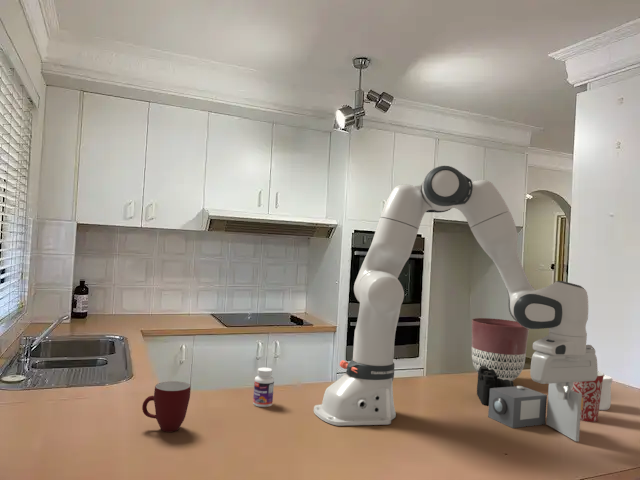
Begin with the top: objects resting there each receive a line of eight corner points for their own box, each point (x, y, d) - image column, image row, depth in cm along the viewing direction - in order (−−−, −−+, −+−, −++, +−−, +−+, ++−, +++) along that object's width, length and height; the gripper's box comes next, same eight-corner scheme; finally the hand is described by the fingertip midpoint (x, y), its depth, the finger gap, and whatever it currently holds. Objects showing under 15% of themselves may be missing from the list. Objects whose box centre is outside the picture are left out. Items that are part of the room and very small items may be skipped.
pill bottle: (249, 405, 140) (251, 369, 140) (258, 400, 145) (261, 365, 145) (266, 408, 138) (269, 372, 138) (275, 403, 143) (278, 368, 143)
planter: (471, 385, 176) (475, 323, 176) (465, 372, 195) (468, 316, 195) (531, 392, 173) (535, 328, 173) (518, 378, 192) (522, 321, 192)
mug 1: (138, 436, 114) (141, 391, 114) (142, 423, 121) (145, 381, 121) (187, 434, 116) (190, 390, 116) (187, 422, 124) (190, 381, 124)
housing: (509, 428, 134) (511, 395, 135) (485, 417, 143) (487, 386, 143) (545, 424, 140) (547, 392, 140) (519, 413, 148) (521, 383, 148)
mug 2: (608, 421, 146) (611, 374, 146) (586, 424, 142) (589, 375, 142) (571, 407, 157) (573, 363, 158) (549, 409, 154) (552, 364, 154)
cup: (603, 412, 154) (605, 380, 154) (569, 403, 162) (571, 372, 162) (615, 407, 161) (617, 376, 161) (582, 399, 168) (584, 369, 168)
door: (581, 441, 128) (584, 394, 128) (575, 441, 127) (578, 394, 127) (550, 423, 140) (552, 380, 140) (544, 423, 140) (547, 380, 140)
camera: (516, 410, 152) (518, 376, 152) (479, 405, 154) (481, 372, 154) (508, 396, 165) (510, 365, 166) (474, 392, 167) (476, 362, 168)
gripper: (584, 342, 138) (581, 393, 138) (527, 343, 130) (524, 397, 130) (605, 347, 132) (602, 400, 132) (547, 348, 124) (544, 405, 124)
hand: (563, 399), depth 131 cm, fingers closed
